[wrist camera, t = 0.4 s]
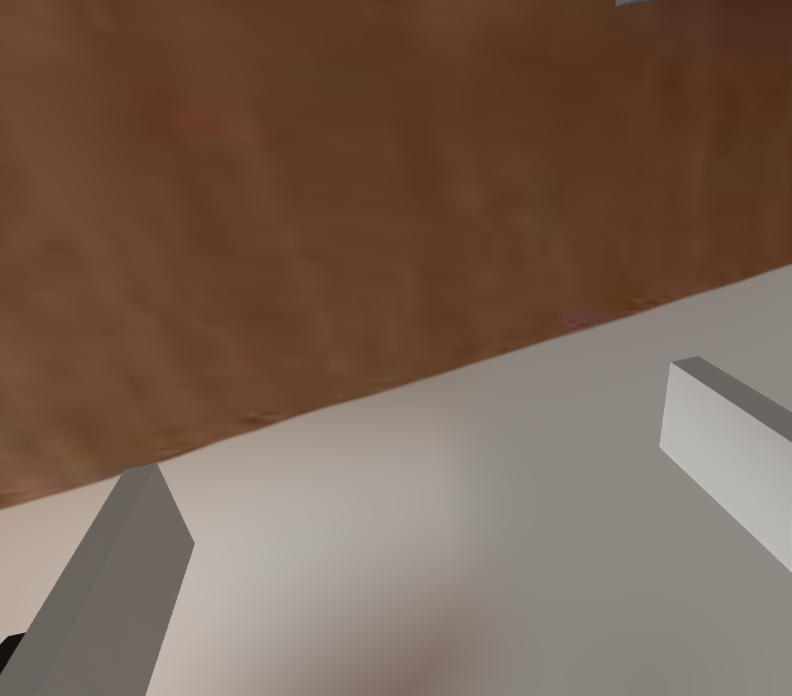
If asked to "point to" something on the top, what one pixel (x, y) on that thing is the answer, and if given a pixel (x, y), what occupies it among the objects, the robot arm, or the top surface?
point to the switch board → (629, 2)
